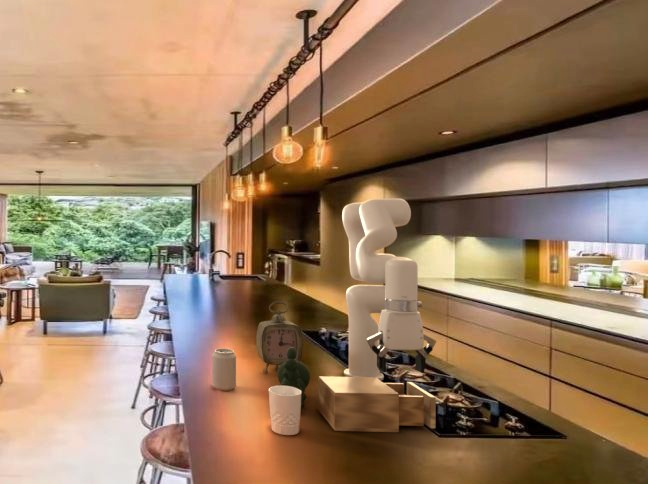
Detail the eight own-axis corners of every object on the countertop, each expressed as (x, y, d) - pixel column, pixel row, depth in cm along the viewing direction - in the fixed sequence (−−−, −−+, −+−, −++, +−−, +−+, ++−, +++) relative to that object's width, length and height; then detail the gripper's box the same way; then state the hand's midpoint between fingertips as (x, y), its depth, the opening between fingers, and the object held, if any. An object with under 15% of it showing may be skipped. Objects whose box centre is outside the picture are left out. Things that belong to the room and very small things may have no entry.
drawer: (426, 410, 131) (426, 382, 131) (453, 428, 119) (453, 397, 119) (357, 409, 132) (357, 380, 132) (376, 427, 120) (376, 396, 120)
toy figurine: (309, 424, 128) (310, 387, 151) (309, 355, 126) (310, 329, 149) (272, 420, 131) (279, 384, 154) (272, 352, 129) (279, 327, 153)
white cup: (301, 426, 123) (301, 387, 123) (301, 438, 115) (301, 397, 115) (270, 422, 125) (270, 384, 125) (267, 434, 118) (267, 393, 118)
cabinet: (375, 411, 132) (375, 377, 132) (398, 432, 119) (398, 393, 119) (318, 410, 133) (318, 376, 133) (334, 430, 120) (334, 392, 120)
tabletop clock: (261, 375, 167) (261, 303, 167) (255, 367, 176) (255, 299, 176) (302, 375, 167) (302, 303, 167) (294, 367, 176) (294, 299, 176)
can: (235, 384, 157) (235, 347, 157) (237, 391, 149) (237, 353, 149) (212, 383, 157) (212, 347, 157) (212, 391, 150) (212, 352, 150)
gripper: (427, 304, 129) (427, 367, 129) (361, 303, 130) (361, 366, 130) (443, 308, 121) (443, 376, 121) (373, 308, 122) (373, 374, 122)
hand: (400, 371), depth 125 cm, fingers open, 9 cm apart
